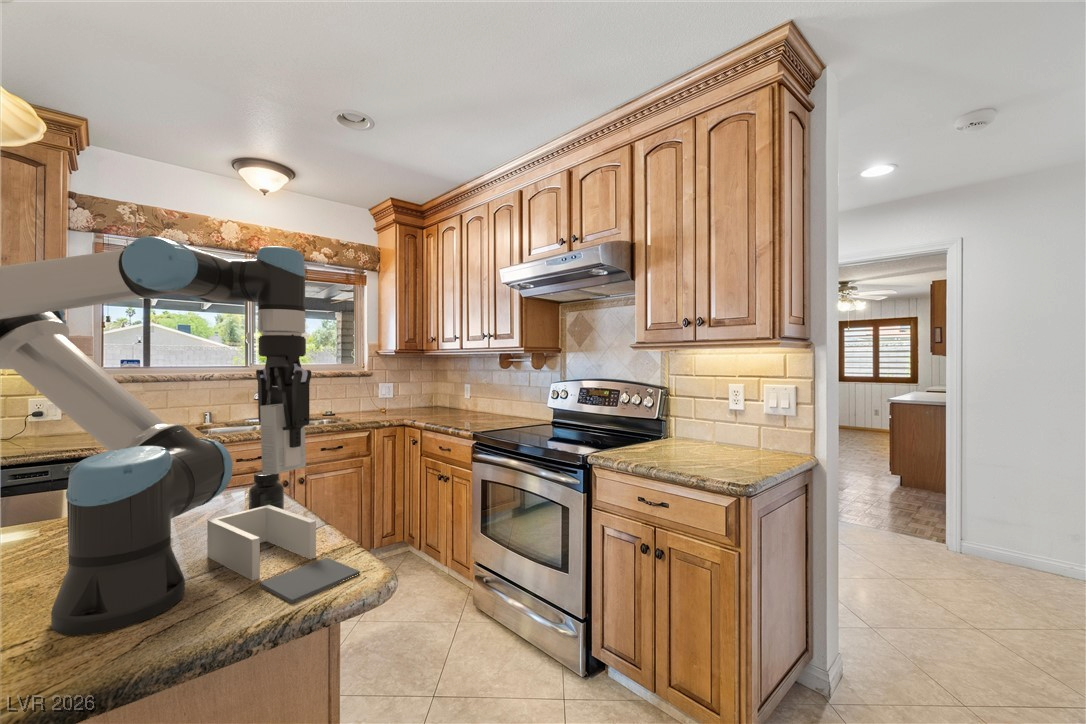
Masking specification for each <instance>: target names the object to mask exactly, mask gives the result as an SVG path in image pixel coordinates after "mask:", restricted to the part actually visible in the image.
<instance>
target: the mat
mask: <svg viewBox="0 0 1086 724" xmlns="http://www.w3.org/2000/svg"><path fill="white" fill-rule="evenodd" d="M359 573H360V574H361V571H360V570H358V569H356V568H354V567H350V566H348V565H347V564H343V563H341V562H338V561H337V560H334V559H331V558H329V557H324V558H322V559H319V560H316V561H313V562H310V563H309V564H306V565H303V566H300V567H297V568H295V569H292V570H290V571H287V572H284V573H281V574H279V575H277V576H274V577H271V578H268V579H265V580H263V581H261V582H259V583H258V584H259V587H260V588H261V589H264V590H266V591H268V592H270V593H271V594H273V595H274V596H277V597H279V598H281V599H283V600H285V601H286V602H288V603H290V604H294V603H297V602H299V601H301V600H302V601H303V600H304V599H306V598H308V597H311V596H313V595H315V594H318V593H320V592H322V590H323V591H326V590H327V589H329V587H330V588H332V587H334V586H336V584H337V585H338V583H339V584H341V583H343V582H344V581H343V580H346V579H348V578H350V577H352V576H355V575H357V574H359ZM357 576H358V575H357ZM355 577H356V576H355ZM350 579H351V578H350ZM348 580H349V579H348ZM342 581H343V582H342ZM346 581H347V580H346ZM340 582H341V583H340ZM333 585H334V586H333ZM326 588H327V589H326Z"/></svg>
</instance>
